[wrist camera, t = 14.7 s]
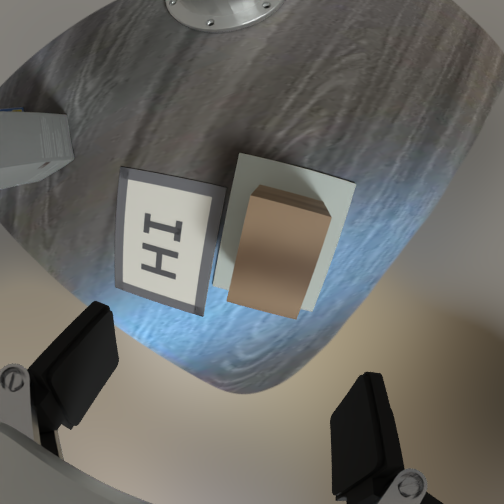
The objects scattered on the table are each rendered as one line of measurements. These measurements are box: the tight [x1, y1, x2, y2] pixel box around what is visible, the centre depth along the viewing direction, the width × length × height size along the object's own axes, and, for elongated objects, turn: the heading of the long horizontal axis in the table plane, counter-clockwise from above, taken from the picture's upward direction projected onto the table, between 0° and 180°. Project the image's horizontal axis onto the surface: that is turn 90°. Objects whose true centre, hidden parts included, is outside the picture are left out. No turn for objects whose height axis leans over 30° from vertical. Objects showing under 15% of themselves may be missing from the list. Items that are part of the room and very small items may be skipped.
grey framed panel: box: [115, 167, 227, 317], centre depth 29 cm, size 15×12×1 cm
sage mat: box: [213, 153, 356, 312], centre depth 27 cm, size 14×11×1 cm
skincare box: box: [0, 111, 74, 189], centre depth 19 cm, size 8×7×16 cm
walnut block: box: [227, 185, 332, 319], centre depth 24 cm, size 9×6×6 cm, turn 167°
